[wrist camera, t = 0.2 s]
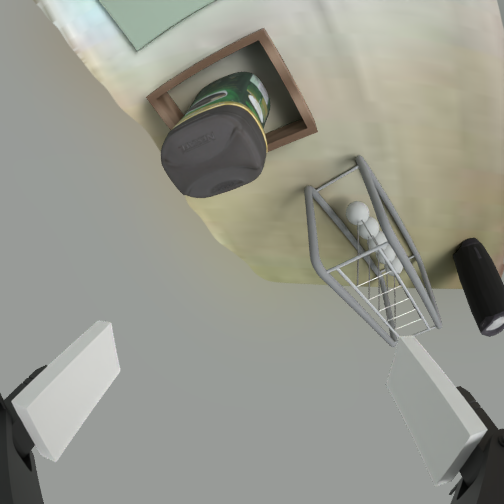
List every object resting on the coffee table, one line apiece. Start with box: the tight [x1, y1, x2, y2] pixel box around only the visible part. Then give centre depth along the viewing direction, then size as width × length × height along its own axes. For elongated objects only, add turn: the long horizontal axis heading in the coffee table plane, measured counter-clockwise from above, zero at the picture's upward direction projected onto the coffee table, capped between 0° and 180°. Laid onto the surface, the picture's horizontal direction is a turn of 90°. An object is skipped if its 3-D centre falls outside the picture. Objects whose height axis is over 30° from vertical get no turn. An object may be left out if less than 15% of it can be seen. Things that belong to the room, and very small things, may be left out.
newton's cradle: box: [304, 155, 442, 347], centre depth 45 cm, size 30×10×18 cm, turn 42°
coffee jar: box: [161, 72, 270, 198], centre depth 31 cm, size 10×8×19 cm
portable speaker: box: [453, 238, 504, 337], centre depth 46 cm, size 9×9×20 cm
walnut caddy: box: [146, 28, 318, 152], centre depth 36 cm, size 15×17×4 cm
